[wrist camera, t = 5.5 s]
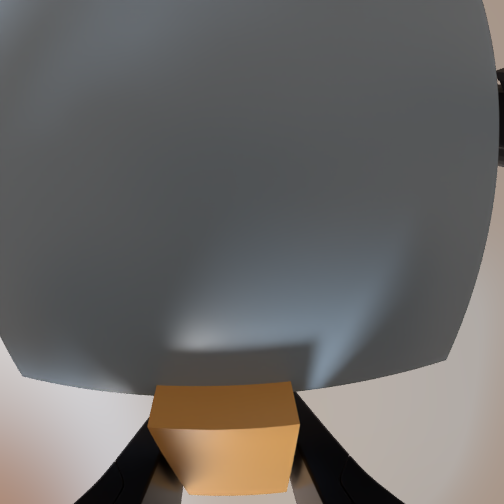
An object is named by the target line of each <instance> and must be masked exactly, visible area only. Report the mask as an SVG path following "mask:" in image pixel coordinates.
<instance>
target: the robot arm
mask: <svg viewBox="0 0 504 504" xmlns="http://www.w3.org/2000/svg"><path fill="white" fill-rule="evenodd" d="M496 75H497V79H498V80H499V81H500V83H501V85H497V86H498V100H499V151H498V166H502V167H504V68H502V69H500V70H497V71H496ZM293 394H294V398H295V403H296V407H297V412H298V417H299V421H300V427H299V433H298V438H297V444H296V449H295V454H294V459H293V464H292V469H291V474H290V481H291V484H292V488H293V492H294V495H295V499H296V503H297V504H404V503H403V502H402V501H401V500H399V499H398V498H397V497H395V496H394V495H393V494H391V493H390V492H389V491H388V490H386V489H385V488H384V487H382V486H381V485H380V484H379V483H377V482H376V481H375V480H374V479H373V478H372V477H371V476H369V475H368V474H367V473H366V472H365V471H364V470H363V469H362V468H361V467H360V466H359V465H358V464H357V463H356V461H355V460H354V459H353V458H352V457H351V456H349V454H348V453H347V452H346V450H345V449H344V448H343V447H342V446H341V445H340V444H339V442H338V441H337V440H336V439H335V438H334V437H333V436H332V434H331V433H330V432H329V431H328V430H327V428H326V427H325V426H324V425H323V424H322V423H321V421H320V420H319V419H318V418H317V417H316V415H315V414H314V413H313V412H312V411H311V409H310V408H309V407H308V406H307V405H306V403H305V402H304V401H303V400H302V399H301V397H300V396H299V395H298V394H297V392H293ZM148 421H149V418H148V419H147V420H146V422H145V423H144V424H143V426H142V427H141V428H140V429H139V431H138V432H137V433H136V435H135V436H134V437H133V439H132V440H131V441H130V442H129V444H128V445H127V446H126V447H125V449H124V450H123V451H122V453H121V454H120V455H119V456H118V457H117V459H116V462H113V464H112V465H111V466H110V467H109V469H108V470H107V471H106V472H105V473H104V475H103V476H102V477H101V478H100V479H99V480H98V481H97V482H96V483H95V484H94V485H93V486H92V487H91V488H90V489H89V490H88V491H87V492H86V493H85V494H84V495H83V496H82V497H81V498H79V499H78V500H77V501H76V502H75V503H74V504H181V498H182V491H183V485H182V483H181V482H180V480H179V479H178V477H177V476H176V474H175V473H174V471H173V470H172V468H171V467H170V465H169V463H168V462H167V460H166V459H165V457H164V455H163V454H162V452H161V450H160V449H159V447H158V445H157V444H156V442H155V440H154V438H153V436H152V435H151V433H150V431H149V429H148V427H147V426H148Z"/></svg>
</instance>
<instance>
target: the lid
mask: <svg viewBox="0 0 504 504" xmlns="http://www.w3.org/2000/svg"><path fill="white" fill-rule="evenodd" d="M498 151H499V100H498V86H497V75H496V66H495V59H494V52H493V46H492V40H491V36H490V30H489V25H488V21H487V17H486V13H485V9H484V5H483V2H482V0H0V337H1V338H2V341H3V342H4V344H5V346H6V348H7V350H8V352H9V354H10V356H11V357H12V359H13V361H14V363H15V364H16V366H17V368H18V369H19V371H20V373H21V374H22V376H24V377H28V378H32V379H36V380H41V381H46V382H50V383H56V384H61V385H67V386H72V387H78V388H85V389H91V390H99V391H108V392H116V393H126V394H138V395H153V396H154V399H153V403H152V408H151V412H150V417H149V421H148V426H147V427H148V429H149V431H150V433H151V435H152V436H153V438H154V440H155V442H156V444H157V445H158V447H159V449H160V450H161V452H162V454H163V455H164V457H165V459H166V460H167V462H168V463H169V465H170V467H171V468H172V470H173V471H174V473H175V474H176V476H177V477H178V479H179V480H180V482H181V483H182V485H183V486H184V488H185V489H186V491H187V492H188V493H189V494H190V495H210V496H236V495H258V494H271V493H281V492H286V491H287V487H288V483H289V478H290V474H291V469H292V464H293V459H294V454H295V449H296V444H297V438H298V433H299V427H300V421H299V417H298V412H297V407H296V403H295V398H294V394H293V392H296V391H305V390H312V389H320V388H326V387H333V386H339V385H345V384H350V383H356V382H361V381H366V380H371V379H376V378H380V377H384V376H389V375H393V374H398V373H402V372H406V371H409V370H413V369H417V368H420V367H424V366H428V365H431V364H434V363H437V362H441V361H444V360H446V359H447V357H448V354H449V352H450V350H451V348H452V345H453V343H454V341H455V338H456V336H457V333H458V331H459V328H460V326H461V323H462V321H463V318H464V315H465V313H466V310H467V307H468V304H469V301H470V298H471V295H472V292H473V289H474V286H475V282H476V279H477V275H478V272H479V269H480V265H481V261H482V257H483V253H484V249H485V245H486V240H487V236H488V231H489V226H490V220H491V215H492V208H493V202H494V194H495V187H496V178H497V167H498Z"/></svg>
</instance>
